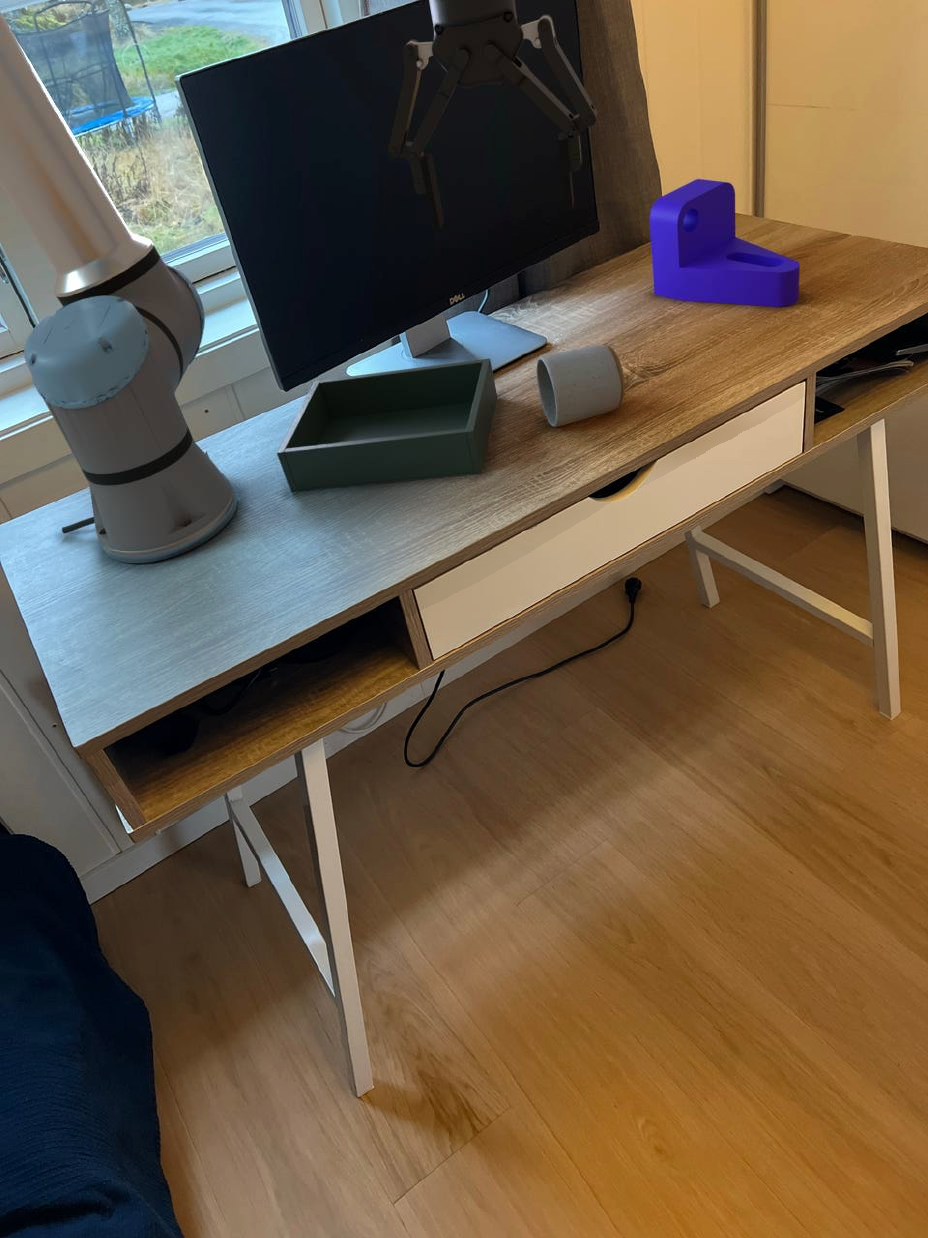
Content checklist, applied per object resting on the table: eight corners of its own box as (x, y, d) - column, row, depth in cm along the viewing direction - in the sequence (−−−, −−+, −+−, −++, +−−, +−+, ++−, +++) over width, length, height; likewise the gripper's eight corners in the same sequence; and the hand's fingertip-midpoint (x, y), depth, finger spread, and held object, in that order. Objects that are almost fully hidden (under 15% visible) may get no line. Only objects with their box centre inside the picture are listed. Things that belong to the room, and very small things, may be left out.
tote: (291, 492, 102) (276, 453, 99) (326, 417, 115) (314, 380, 112) (482, 473, 98) (473, 431, 94) (497, 397, 110) (490, 358, 107)
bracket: (654, 294, 124) (648, 202, 116) (708, 263, 128) (706, 173, 120) (766, 320, 111) (768, 220, 104) (822, 286, 116) (828, 187, 108)
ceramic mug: (631, 417, 100) (625, 350, 95) (560, 439, 100) (550, 373, 95) (598, 381, 108) (590, 317, 104) (531, 400, 108) (521, 337, 103)
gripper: (321, -1, 81) (378, 244, 94) (609, -59, 75) (626, 210, 89) (342, -14, 86) (393, 220, 100) (611, -69, 81) (627, 186, 94)
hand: (503, 216), depth 94 cm, fingers open, 13 cm apart
